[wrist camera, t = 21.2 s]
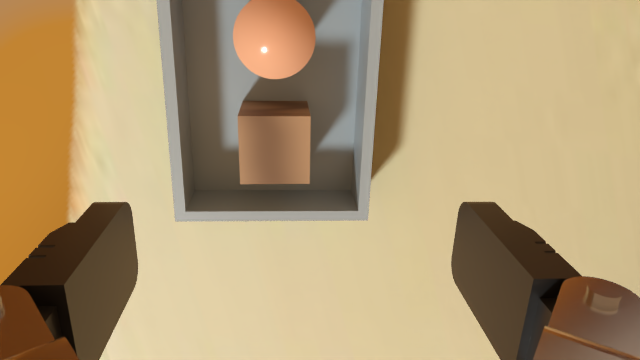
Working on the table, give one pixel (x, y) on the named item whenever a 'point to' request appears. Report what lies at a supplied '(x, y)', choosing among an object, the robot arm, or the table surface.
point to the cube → (274, 142)
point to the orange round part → (274, 37)
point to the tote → (243, 85)
